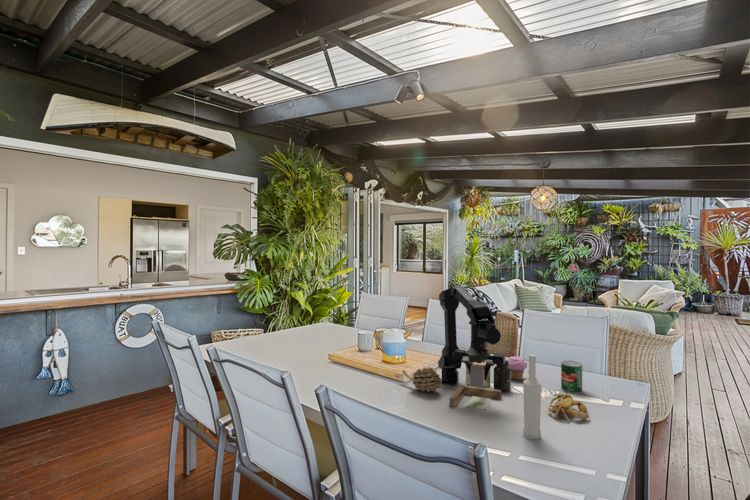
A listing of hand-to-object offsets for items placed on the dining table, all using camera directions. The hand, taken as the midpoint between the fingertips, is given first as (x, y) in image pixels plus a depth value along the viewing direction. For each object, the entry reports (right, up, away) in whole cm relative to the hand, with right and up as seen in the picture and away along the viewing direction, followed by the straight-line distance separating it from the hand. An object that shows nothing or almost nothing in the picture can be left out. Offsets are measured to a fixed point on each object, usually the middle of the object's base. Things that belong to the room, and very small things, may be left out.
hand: (478, 379), depth 154 cm
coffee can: (+5, -9, +20) cm, 22 cm away
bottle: (+10, -9, -27) cm, 30 cm away
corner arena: (-1, -9, +1) cm, 9 cm away
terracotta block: (0, -2, 0) cm, 2 cm away
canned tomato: (+42, -9, +14) cm, 45 cm away
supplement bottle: (+13, -9, +15) cm, 22 cm away
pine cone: (-21, -9, +15) cm, 27 cm away
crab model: (+29, -9, -10) cm, 32 cm away
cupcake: (+24, -9, +28) cm, 38 cm away
